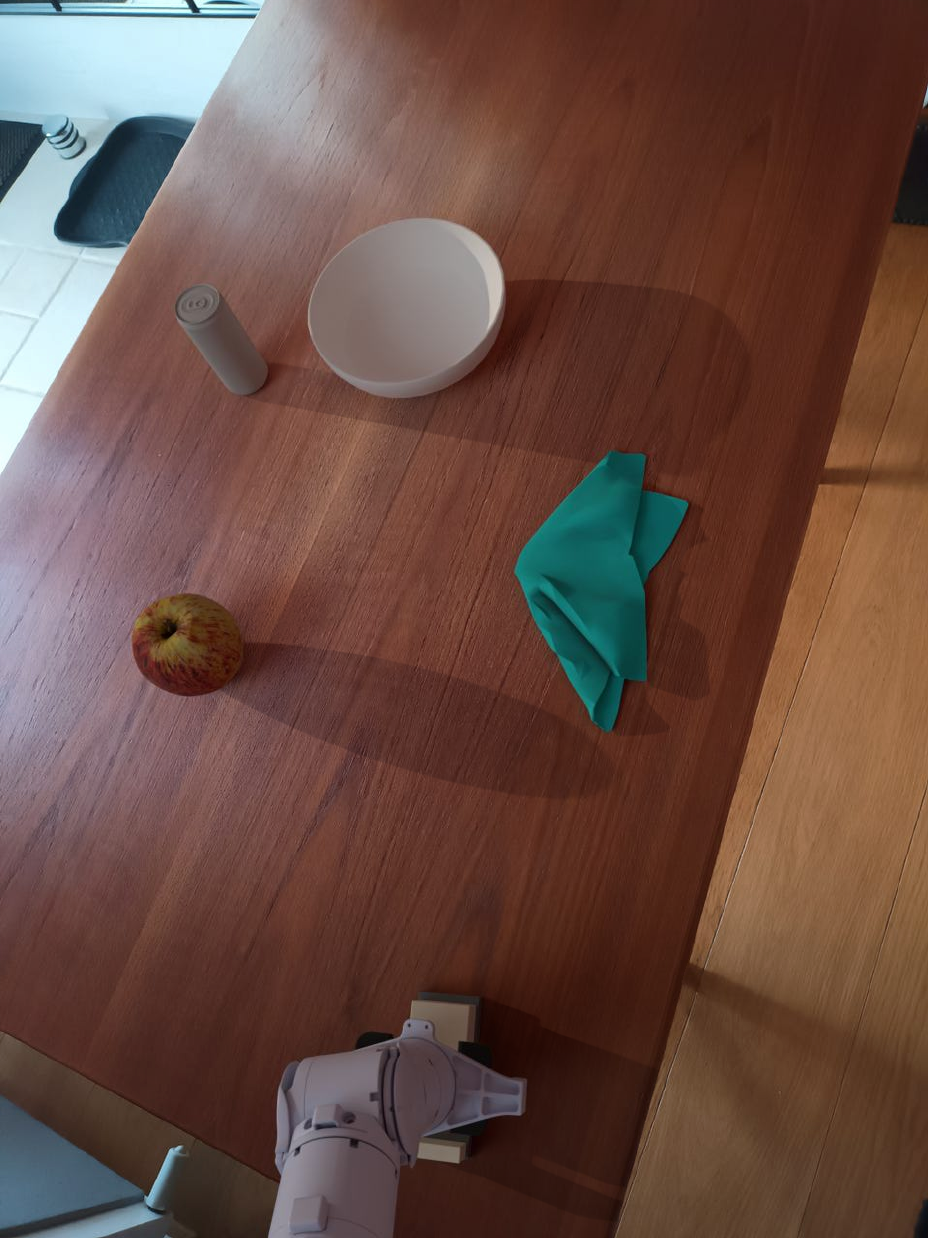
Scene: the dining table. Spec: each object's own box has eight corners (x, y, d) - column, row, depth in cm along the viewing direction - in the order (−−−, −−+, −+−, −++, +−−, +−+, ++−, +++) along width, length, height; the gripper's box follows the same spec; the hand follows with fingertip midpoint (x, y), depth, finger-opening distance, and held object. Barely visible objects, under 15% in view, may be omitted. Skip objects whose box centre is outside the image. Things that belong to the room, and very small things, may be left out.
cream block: (470, 1157, 70) (460, 1167, 66) (407, 1149, 71) (393, 1158, 67) (482, 996, 74) (473, 997, 70) (422, 991, 75) (409, 991, 71)
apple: (151, 689, 89) (92, 655, 79) (197, 604, 91) (145, 561, 82) (232, 724, 86) (180, 693, 77) (277, 635, 88) (232, 595, 79)
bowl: (530, 393, 92) (521, 355, 86) (337, 441, 94) (316, 406, 89) (497, 239, 99) (487, 195, 94) (319, 287, 102) (299, 246, 96)
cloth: (558, 439, 90) (555, 426, 88) (704, 465, 86) (705, 452, 84) (474, 697, 82) (469, 690, 80) (630, 739, 78) (630, 732, 76)
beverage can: (267, 395, 98) (217, 321, 87) (223, 400, 99) (169, 327, 88) (272, 356, 100) (223, 278, 89) (228, 361, 101) (175, 284, 90)
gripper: (516, 1034, 58) (542, 1025, 71) (293, 1011, 61) (355, 1006, 74) (509, 1164, 56) (536, 1131, 68) (277, 1134, 59) (344, 1107, 71)
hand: (442, 1073), depth 71 cm, fingers closed on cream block, 4 cm apart
